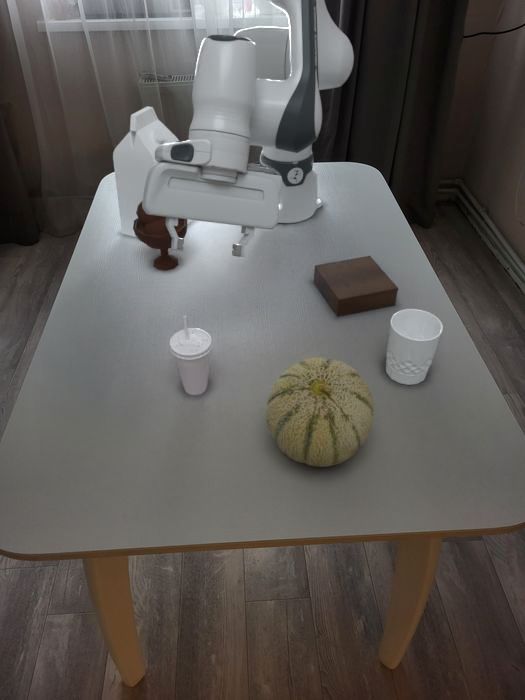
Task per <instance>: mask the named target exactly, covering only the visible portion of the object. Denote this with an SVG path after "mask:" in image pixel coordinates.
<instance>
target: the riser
mask: <svg viewBox="0 0 525 700" xmlns="http://www.w3.org/2000/svg"><path fill="white" fill-rule="evenodd" d="M313 284H314V285H315V287H316V288H317V290H318V291H319V293H320V294H321V295H322V297H323V299H324V300H325V301H326V304H327V305H328V306H329V307H330V309H331V310H332V312H333V313H334V314H335V316H336V317H337V318H338V317H343V316H348V315H349V316H350V315H354V314H358V313H363V312H368V311H369V312H370V311H373V310H378V309H382V308H388V307H393V306H395V305H396V301H397V297H398V291H399V287H398V286H397V285H396V283H395V282H394V281H393V280H392V279H391V278H390V276H389V275H387V273H386V272H385V271H384V270H383V269H382V268H381V266H380V265H379V264H378V263H377V262H376V261H375V260H374V259H373V257H372V256H371V255H365V256H361V257H353V258H348V259H343V260H337V261H331V262H327V263H321V264H320V263H319V264H316V265H314V270H313Z"/></svg>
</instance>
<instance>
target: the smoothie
mask: <svg viewBox="0 0 525 700" xmlns="http://www.w3.org/2000/svg"><path fill="white" fill-rule="evenodd" d="M182 320H183V321H182V322H183V329H181V330H179V331H177V332H176V333H174V334H173V335H172V336H171V337H170V340H169V350H170V353H171V354H172V355H173V357H174V361H175V364H176V367H177V371H178V373H179V376H180V380H181V383H182V386H183V389H184V392H185V393H186V394H188V395H191V396H200V395H202V394H203V393H205V392H206V391H207V389H208V383H209V382H208V380H209V367H210V355H211V350H212V349H213V341H212V336H211V335H210V333H208V332H207V331H206V330H203V329H201V328H195V327H191V328H189V325H188V324H189V323H188V316H187V315H183V316H182Z"/></svg>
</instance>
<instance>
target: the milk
mask: <svg viewBox="0 0 525 700" xmlns="http://www.w3.org/2000/svg"><path fill="white" fill-rule="evenodd" d="M129 122H130V123H129V131H128V132H127V134H126V135H125V136H124V137H123V138H122V140H121V141H120V142H119V143H118V144H117V145H116V147H115V148H114V150H113V153H112V161H113V168H114V177H115V179H114V180H115V185H116V186H115V187H116V195H117V203H118V210H119V219H120V227H121V234H122V235H125V236H129V237H133V238H137V236H136V235H135V232H134V230H133V225H134V220H136V219H137V218H138V216H137V214H136V211H137V207H138V205H139V204H140V203H141V202H142V200H143V193H144V187H145V182H146V178H147V175H148V172H149V170H150V168H151V167H152V166H153V165H155V164H157V163H159V162H157V161H156V160H155V150H156V148H157V147H159V146H161V145H164V144H169V143H175V142H176V141H180V140H179V138H178V137H177V136H176V135H175V134H174V133H173V132H172V131H171V130H170V129H169V127H167V126H166V125H165V124H164V123H163V122H162V121H161V120H160V119H159V118H158V116H157V114H156V111H155V108H154V106H148V105H147V106H145V107H143V108H141V109H140V110H137V111H135V112H133V113H131V114H130V121H129ZM193 221H194V220H189V219H187V226H188V225H190V224H191V223H192V222H193Z"/></svg>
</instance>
